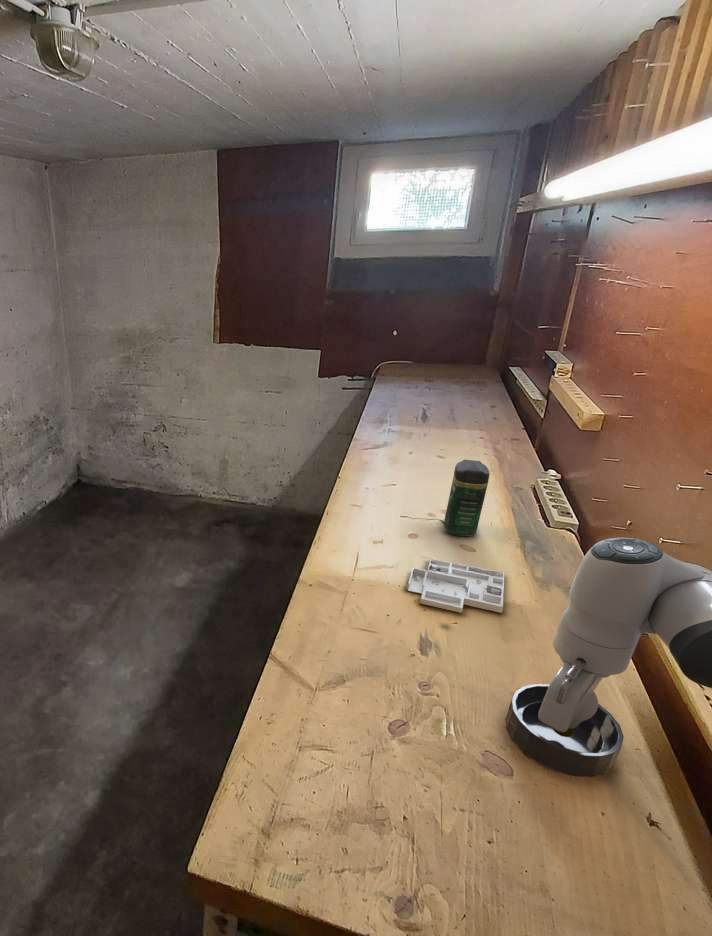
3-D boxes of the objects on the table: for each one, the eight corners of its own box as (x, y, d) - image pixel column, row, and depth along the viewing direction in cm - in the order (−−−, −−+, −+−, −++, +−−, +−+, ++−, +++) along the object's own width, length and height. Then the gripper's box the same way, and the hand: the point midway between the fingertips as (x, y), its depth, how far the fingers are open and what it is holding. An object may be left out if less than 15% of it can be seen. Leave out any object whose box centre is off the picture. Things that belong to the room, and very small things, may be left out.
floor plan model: (399, 615, 117) (401, 608, 116) (415, 559, 137) (417, 552, 136) (501, 640, 109) (504, 632, 108) (503, 576, 128) (505, 569, 127)
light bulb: (546, 746, 85) (563, 695, 80) (533, 717, 90) (549, 668, 86) (590, 752, 83) (610, 702, 79) (574, 723, 89) (593, 673, 84)
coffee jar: (478, 539, 144) (493, 472, 136) (444, 535, 146) (457, 469, 138) (474, 522, 152) (488, 458, 144) (442, 519, 155) (454, 456, 146)
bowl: (558, 699, 95) (566, 676, 93) (637, 768, 83) (648, 744, 80) (484, 715, 93) (491, 692, 90) (554, 789, 80) (564, 765, 78)
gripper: (594, 693, 71) (564, 768, 77) (640, 624, 83) (611, 694, 89) (539, 668, 75) (515, 741, 82) (590, 605, 87) (566, 674, 93)
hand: (565, 716), depth 85 cm, fingers closed on light bulb, 5 cm apart
